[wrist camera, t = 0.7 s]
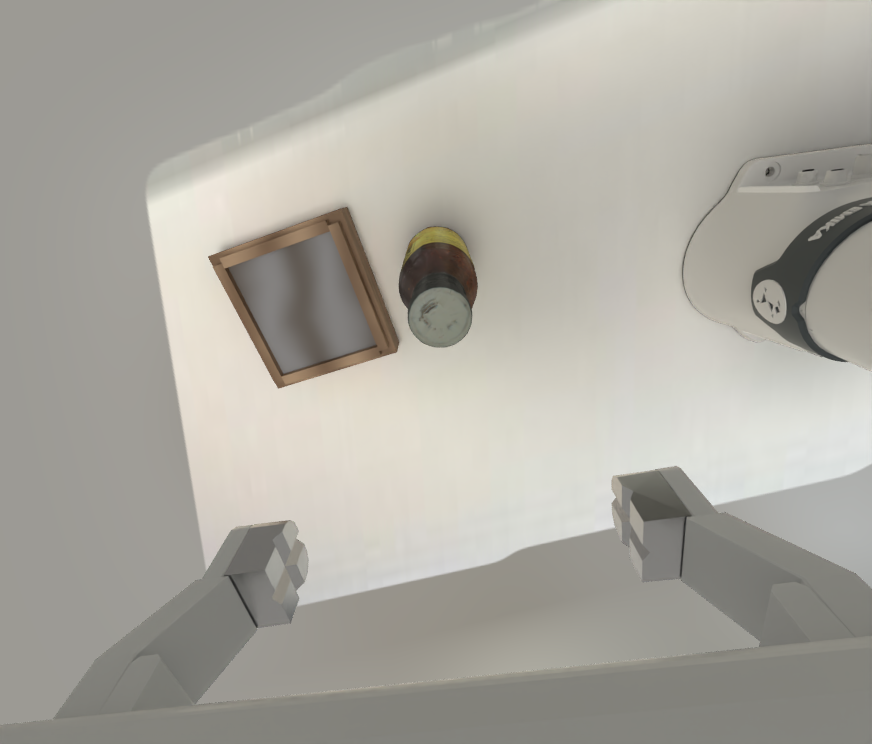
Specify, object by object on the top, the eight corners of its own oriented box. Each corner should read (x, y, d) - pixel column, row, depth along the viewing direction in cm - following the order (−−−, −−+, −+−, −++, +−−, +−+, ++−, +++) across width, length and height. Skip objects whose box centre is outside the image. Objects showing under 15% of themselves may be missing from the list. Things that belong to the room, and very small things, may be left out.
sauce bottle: (401, 231, 43) (374, 267, 25) (462, 219, 42) (479, 246, 24) (414, 294, 46) (399, 368, 27) (472, 283, 45) (495, 351, 27)
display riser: (347, 206, 42) (338, 209, 38) (399, 342, 48) (396, 355, 44) (222, 252, 44) (202, 258, 40) (287, 377, 50) (275, 392, 46)
